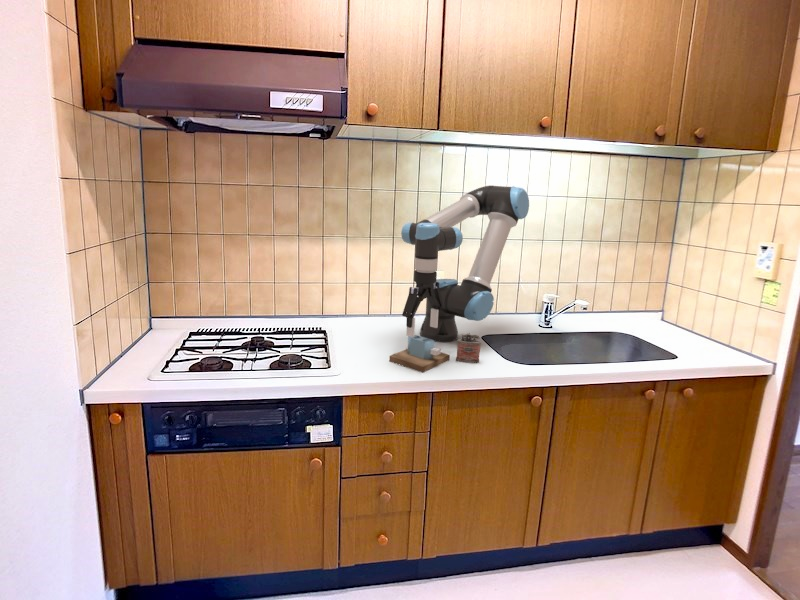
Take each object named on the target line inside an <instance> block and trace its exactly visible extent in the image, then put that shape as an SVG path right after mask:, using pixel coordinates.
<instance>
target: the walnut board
mask: <svg viewBox="0 0 800 600" xmlns="http://www.w3.org/2000/svg"><path fill="white" fill-rule="evenodd" d="M407 351H408V348H406V349H403V350H401V351H399V352H396V353H393V354H390V355H389V362H390V361H391V362H390V363H393V362H394V363H393V364H396V363H397V365H399V364H400V365H399V366H402V365H403V366H402V367H405V366H406V367H405V368H408V369H411V370H413V371H417V372H420V373H425V372H427V371H429V370H432V369H433V368H435V367H437V366H440V365H442V364H444V363H446V362H449V361H450V357H451V356H450V354H448V353H445V352H442V351H441V354H439V355H437V356H436V355H433V359H430V360H426V359H422V358H419V357H416V356H413V355H410V354H408V353H407Z"/></svg>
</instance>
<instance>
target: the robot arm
mask: <svg viewBox="0 0 800 600" xmlns="http://www.w3.org/2000/svg"><path fill="white" fill-rule="evenodd" d="M529 208H530V199H529V195H528V192H527V191H526V190H525V189H524V188H523V187H517V186H514V185H513V186H502V185H486V186H481V187H479V188H478V187H477V188H476V189H473V190H471V191H468V192H467V193H465V194H463V195H462V196H461V197H460V199H459V200H457V201H455V202H454V203H451V204H450V205H448V206H447V207H444V208H442V209H441V210H439V211H437V212H435V213H433V214H431V215H429V216H428V217H425V218H424V219H422V220H421V221H418V222H406V223H405V224H404V225H403V226H402V229H401V231H400V232H401V234H400V235H401V239H402V240H403V242H405V244H409V245H412V246H415V248H414V267H413V268H414V269H415V270H414V271H413V281H414V282H415V287H413V286H410V287H409V289H408V295H407V299H406V302H405V304H404V308H403V310H402V313H401V315H402V317H404V318H406V336H407V337H408V336H410V337H414V335H415V332H416V331H415V330H416V329H415V328H416V317H415V314H416V313H417V311H418V309H419V307H420V305H421V304H422V303H421V302H423V301H424V299H426V303H425V317H424V320H423V321H422V325H421V327H420V331H419V336H421V337H425V338H428V339H432V340H434V342H441V343H442V342H444V343H445V342H453V341H456V340H458V339H459V338H458V336H459V331H458V326H457V323H456V317H459V318H463V319H466V320H468V321H476V322H480V321H481V322H482V321H483V320H484V319H486V318H487V317H488V316H489V314H490V313H491V312H492V309H493V306H494V300H495V297H494V295H493V293H492V291H493V290H492V287H491V283H492V279H493V277H494V275H495V271H496V269H497V267H498V264H499V260H500V259H501V256H502V253H503V250H504V247H505V245H506V243H507V240H508V238H509V235H510V232H511V229H512V228H515V227H516V226H517V224H518V221H519V220H523V219H525V218H526V217H527V216H528V213H529V210H530V209H529ZM477 216H487V218H488V220H489V222H488V224H487V227H486V230H485V232H484V234H483V238H482V240H481V242H480V245H479V248H478V251H477V253H476V256H475V258H474V261H473V264H472V266H471V268H470V271H469V274H468V276H467V277H464V278H462V281H461V283H460V284H459V282H458V280H457V279H455V278H437V274H438V273H437V270H438V262H439V261H438V259H439V257H438V256H439V252H440V251H448V250H450V251H451V250H454V249H458V248H459V247H460V246H461V245H462V243H463V241H464V240H463V233H462V230H460V229H459V228H458V227H455V226H456V225H458V224H460V223H462V222H463V221H465V220H467V219H469V218H470V219H471V218H475V217H477Z"/></svg>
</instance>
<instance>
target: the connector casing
mask: <svg viewBox="0 0 800 600" xmlns="http://www.w3.org/2000/svg"><path fill="white" fill-rule="evenodd" d="M407 337H408V338H407V349H408V351H407V353H408V354H410V355H413V356H416V357H419V358H422V359H426V360H430V359H433V355H436V356H437V355H439V354H441V352H442V351H441V350H442V349H441V348H438V347H435V341H434V340H432V339H428V338H425V337H421V336H420V335H417V334H414V337H410V336H407Z"/></svg>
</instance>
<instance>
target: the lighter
mask: <svg viewBox="0 0 800 600" xmlns="http://www.w3.org/2000/svg"><path fill="white" fill-rule="evenodd" d="M480 337H481V336H480V335H479V334H473V333H472V334H471V333H470V332H469V333H461V338H457V352H456V357H455V360H456V362H460V363H466V364H468V363H469V364H479V363H480V351H481V345H482V341H481V340H480Z"/></svg>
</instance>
